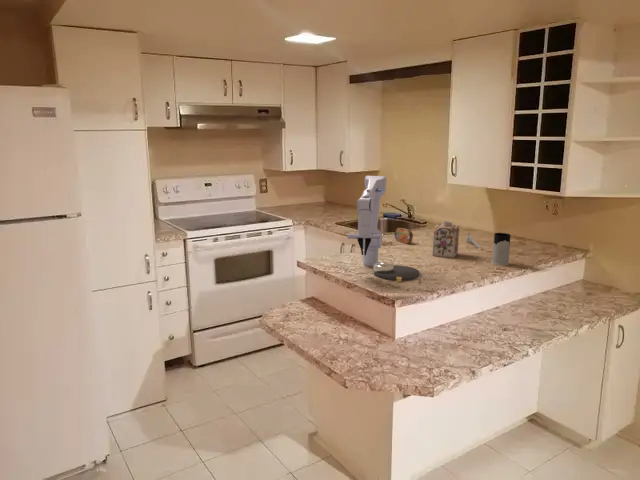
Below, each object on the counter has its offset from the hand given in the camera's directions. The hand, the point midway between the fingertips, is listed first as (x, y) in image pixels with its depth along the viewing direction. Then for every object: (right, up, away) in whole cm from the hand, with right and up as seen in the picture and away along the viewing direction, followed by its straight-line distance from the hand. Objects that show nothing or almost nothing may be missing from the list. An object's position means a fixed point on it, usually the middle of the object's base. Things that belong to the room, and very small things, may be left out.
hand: (363, 254), depth 222 cm
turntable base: (+15, -10, +1) cm, 18 cm away
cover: (+9, -7, +1) cm, 12 cm away
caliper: (+70, +3, +66) cm, 96 cm away
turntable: (+15, -9, +1) cm, 17 cm away
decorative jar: (+48, -2, +44) cm, 64 cm away
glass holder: (+71, -5, +28) cm, 76 cm away
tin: (+30, +5, +74) cm, 80 cm away
